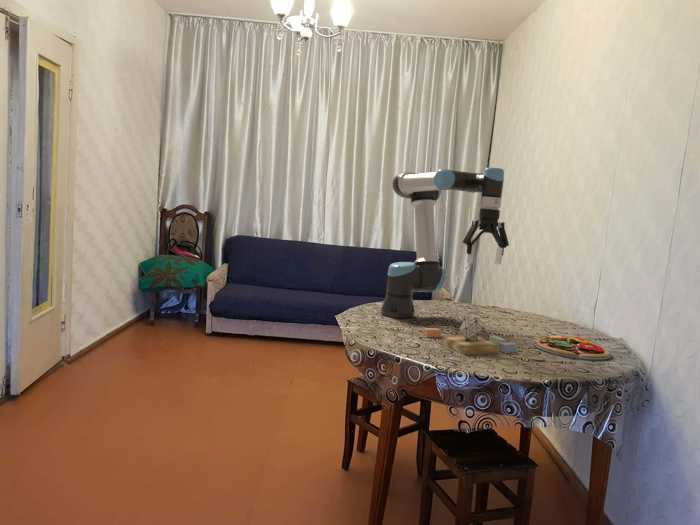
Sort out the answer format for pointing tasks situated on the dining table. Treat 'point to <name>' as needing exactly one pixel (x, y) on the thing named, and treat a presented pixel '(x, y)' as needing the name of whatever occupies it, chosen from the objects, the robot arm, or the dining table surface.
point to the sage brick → (496, 340)
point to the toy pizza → (572, 348)
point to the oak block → (469, 345)
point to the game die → (470, 329)
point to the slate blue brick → (507, 347)
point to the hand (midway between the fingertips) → (483, 263)
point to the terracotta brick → (431, 332)
